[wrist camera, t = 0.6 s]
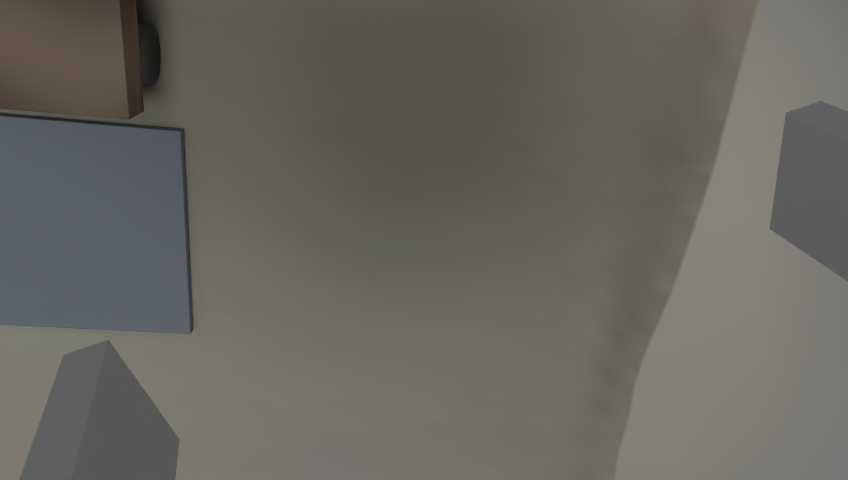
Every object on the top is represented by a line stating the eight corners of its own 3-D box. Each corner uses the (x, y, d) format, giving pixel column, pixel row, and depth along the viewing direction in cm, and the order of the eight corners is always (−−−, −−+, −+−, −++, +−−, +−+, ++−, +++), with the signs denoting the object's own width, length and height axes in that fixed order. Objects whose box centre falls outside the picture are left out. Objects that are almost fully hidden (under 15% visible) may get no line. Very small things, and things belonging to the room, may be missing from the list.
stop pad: (-49, 109, 32) (-56, 111, 32) (183, 129, 34) (180, 131, 33) (-8, 319, 37) (-14, 324, 37) (192, 328, 39) (190, 333, 38)
